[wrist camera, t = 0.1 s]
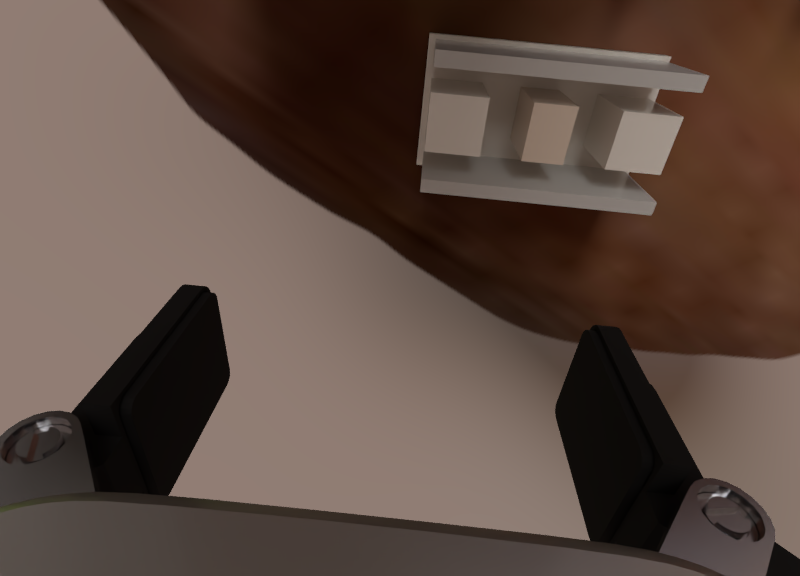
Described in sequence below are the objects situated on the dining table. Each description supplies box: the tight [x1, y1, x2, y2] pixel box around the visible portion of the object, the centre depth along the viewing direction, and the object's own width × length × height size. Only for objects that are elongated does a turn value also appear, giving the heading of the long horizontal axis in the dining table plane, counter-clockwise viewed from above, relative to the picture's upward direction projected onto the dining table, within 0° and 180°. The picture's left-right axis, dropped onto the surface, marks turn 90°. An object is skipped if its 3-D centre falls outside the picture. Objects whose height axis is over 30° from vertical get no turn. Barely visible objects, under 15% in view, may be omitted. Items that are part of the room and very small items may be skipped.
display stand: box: [416, 32, 709, 215], centre depth 34 cm, size 10×18×8 cm, turn 85°
